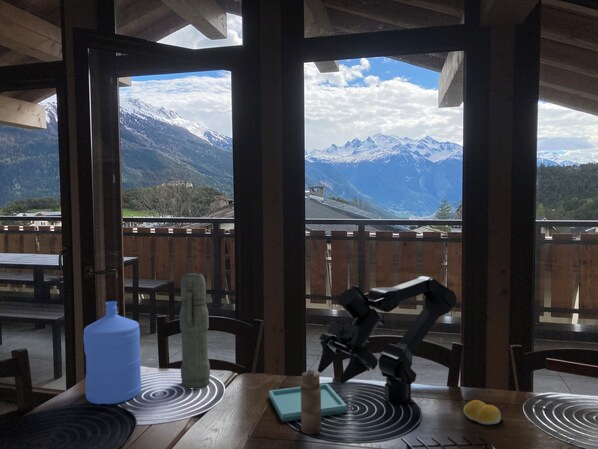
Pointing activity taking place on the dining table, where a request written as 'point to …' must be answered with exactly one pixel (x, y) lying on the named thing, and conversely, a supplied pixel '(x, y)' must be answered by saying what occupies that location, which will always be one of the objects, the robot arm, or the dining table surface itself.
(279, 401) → the teal tray
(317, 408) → the pepper mill
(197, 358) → the thermos
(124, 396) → the water jug
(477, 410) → the bread roll
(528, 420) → the dining table surface
